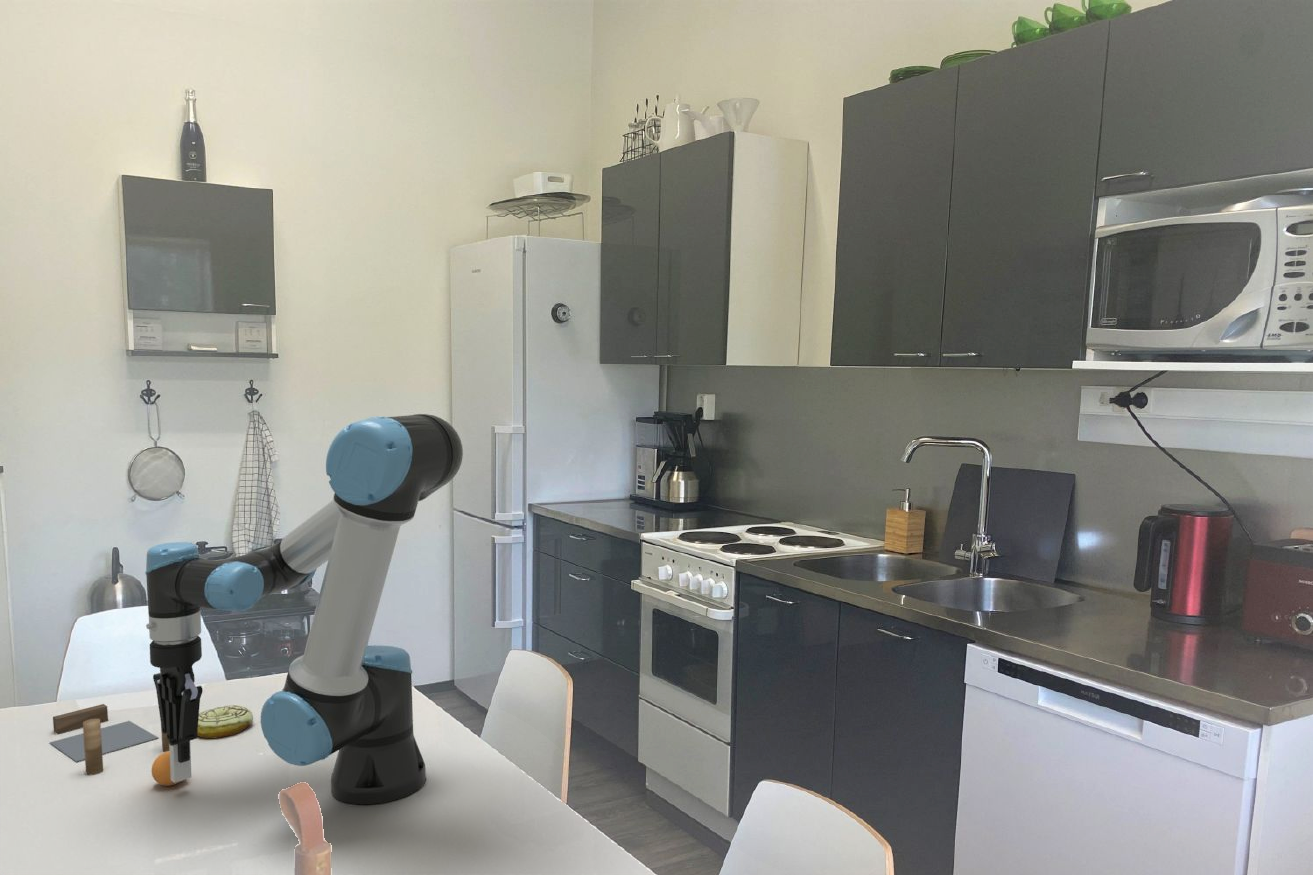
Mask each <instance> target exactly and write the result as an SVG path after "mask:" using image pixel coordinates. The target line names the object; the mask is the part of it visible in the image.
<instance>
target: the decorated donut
mask: <svg viewBox="0 0 1313 875" xmlns="http://www.w3.org/2000/svg"><path fill="white" fill-rule="evenodd" d="M253 720H254V715H253V712H252V711H251V709H249V708H248V707H245V706H242V705H235V704H231V705H225V706H218V707H215V708H212V709H207V710H205V711H202V712H199V719H198V731H197V737H199V736H200V738H203V737H207V738H206V739H216V738H215V737H220V738H224V737H228V736H234V735H236V734H239V733H241V732H242V731H243V730H245V729H246V728H247V727H248V726H249V725H250V724H251V723H252V722H253Z"/></svg>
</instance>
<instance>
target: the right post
mask: <svg viewBox="0 0 1313 875" xmlns="http://www.w3.org/2000/svg"><path fill="white" fill-rule="evenodd" d="M160 727H161V726H160ZM160 729H161V732H160V733H161V745H162V747H161V748H162V752H167V751H169V741H170V740H168V739H167V733H165V734H163V732H162V727H161V728H160Z"/></svg>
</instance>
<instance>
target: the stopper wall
mask: <svg viewBox="0 0 1313 875" xmlns="http://www.w3.org/2000/svg"><path fill="white" fill-rule="evenodd" d="M89 719H100V724H102V723H104V722H105V723H106V722H109V712H108V705H107V704H104V703H102V704H98V705H94V706H91V707H86V708H82V709H79V710H75V711H72V712H71V711H70V712H67V713H64V714H60V715H59V714H58V715H55V716H52V724H53V725H52V726H53V732H54V733H55V734H56V735H59V734H60V735H61V734H64V733H68V732H71V731H75V730H78V729H83V722H84V721H86V720H89ZM101 722H102V723H101ZM67 731H68V732H67Z"/></svg>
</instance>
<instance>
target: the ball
mask: <svg viewBox="0 0 1313 875" xmlns="http://www.w3.org/2000/svg"><path fill="white" fill-rule="evenodd" d="M151 776H152V778H153V780H154V781H155V782H156V783H157V784H159V785H161V786H166V787H169V786H175V785H177V784H178V783H181V781H179V782H176V783H174V782H173V781H171V775H170V751H167V752H165V751H163V753H160V754H159V755H158V756H157V757H156V758H155V759H154V761H153V763H152V766H151Z"/></svg>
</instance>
